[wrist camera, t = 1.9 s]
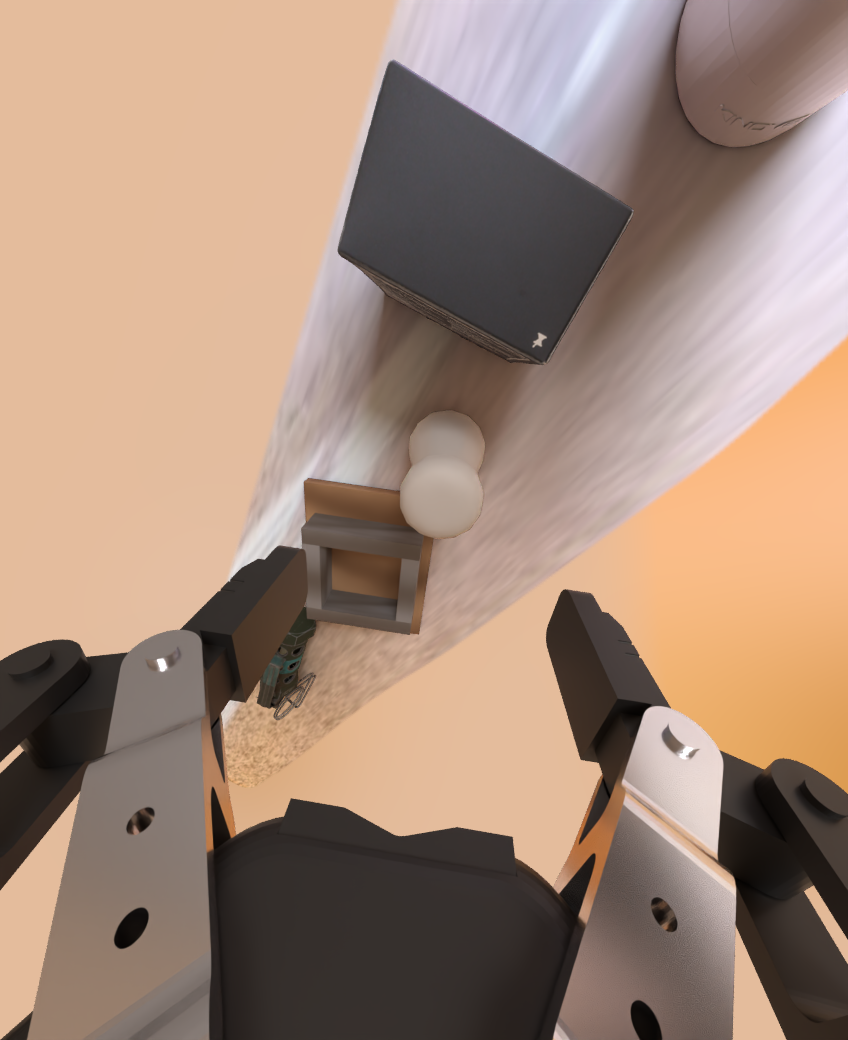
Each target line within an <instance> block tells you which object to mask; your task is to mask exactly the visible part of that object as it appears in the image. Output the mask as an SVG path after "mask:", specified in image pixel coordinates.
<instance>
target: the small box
mask: <svg viewBox="0 0 848 1040" xmlns="http://www.w3.org/2000/svg"><path fill="white" fill-rule="evenodd" d="M633 212H634V211H633V209H632V208H631V207H629V206H628V205H626V204H624V203H622V202H621V201H619V200H618V199H616V198H614V197H613V196H612V195H610V194H608V193H607V192H605V191H603V190H602V189H600V188H598V187H597V186H595V185H594V184H592V183H590V182H589V181H587V180H585V179H584V178H582V177H580V176H579V175H577V174H576V173H574V172H572V171H571V170H569V169H567V168H566V167H564V166H563V165H561V164H559V163H558V162H556V161H555V160H553V159H551V158H550V157H548V156H546V155H545V154H543V153H542V152H540V151H538V150H537V149H535V148H534V147H532V146H530V145H529V144H527V143H525V142H524V141H522V140H521V139H519V138H517V137H516V136H514V135H512V134H511V133H509V132H508V131H506V130H505V129H503V128H501V127H500V126H498V125H497V124H495V123H494V122H492V121H490V120H489V119H487V118H486V117H484V116H482V115H481V114H479V113H478V112H476V111H475V110H473V109H471V108H470V107H468V106H467V105H465V104H463V103H462V102H460V101H459V100H457V99H455V98H454V97H452V96H451V95H449V94H448V93H446V92H445V91H443V90H441V89H440V88H438V87H437V86H435V85H434V84H432V83H431V82H429V81H427V80H426V79H424V78H423V77H421V76H419V75H418V74H416V73H415V72H413V71H412V70H410V69H409V68H407V67H405V66H404V65H402V64H401V63H399V62H397V61H396V60H394V59H393V60H390V62H389V63H388V65H387V69H386V72H385V75H384V78H383V81H382V85H381V88H380V91H379V95H378V98H377V102H376V106H375V110H374V113H373V117H372V121H371V125H370V128H369V132H368V136H367V139H366V143H365V147H364V150H363V153H362V157H361V161H360V165H359V169H358V174H357V177H356V181H355V184H354V188H353V191H352V195H351V199H350V203H349V207H348V211H347V214H346V218H345V222H344V226H343V230H342V233H341V237H340V241H339V246H338V253H339V255H340V256H341V257H343V258H344V259H346V260H348V261H349V262H351V263H352V264H354V265H355V266H356V267H357V268H359V269H360V270H361V271H363V273H364V274H366V275H367V276H368V277H369V278H370V279H371V280H372V281H373V282H374V283H375V284H377V286H379V287H380V288H381V289H382V291H383V292H384V293H385V294H386V295H387V296H389V297H391V298H393V299H395V300H397V301H398V302H400V303H402V304H404V305H406V306H407V307H409V308H411V309H413V310H414V311H417V312H419V313H420V314H422V315H424V316H426V317H427V318H428V319H431V320H433V321H435V322H437V323H439V324H440V325H442V326H444V327H446V328H448V329H450V330H451V331H453V332H455V333H457V334H459V335H460V336H461V337H463V338H465V339H466V340H469V341H471V342H473V343H475V344H476V345H478V346H479V347H481V348H484V349H486V350H488V351H490V352H492V353H494V354H496V355H498V356H500V357H502V358H504V359H505V360H507V361H509V362H510V363H513V362H523V363H529V364H539V365H544V364H547V363H548V362H549V361H550V359H551V357H552V355H553V353H554V351H555V349H556V348H557V346H558V344H559V342H560V341H561V339H562V337H563V336H564V334H565V332H566V331H567V329H568V327H569V325H570V324H571V322H572V320H573V319H574V317H575V315H576V314H577V312H578V310H579V308H580V306H581V304H582V303H583V301H584V299H585V298H586V296H587V294H588V292H589V291H590V289H591V288H592V286H593V284H594V282H595V281H596V279H597V277H598V276H599V274H600V272H601V270H602V269H603V267H604V265H605V264H606V262H607V260H608V258H609V256H610V255H611V253H612V252H613V250H614V248H615V246H616V245H617V243H618V241H619V239H620V237H621V236H622V234H623V233H624V231H625V230H626V228H627V226H628V224H629V222H630V220H631V218H632V216H633Z"/></svg>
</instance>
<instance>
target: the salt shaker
mask: <svg viewBox="0 0 848 1040" xmlns="http://www.w3.org/2000/svg"><path fill="white" fill-rule="evenodd" d="M484 451H485V442H484V439H483V436H482V432H481V429H480V428H479V427H478V426H477V425H476V424H475V423H474V421H473V420H472V419H471V418H470V417H469V416H468V415H465V414H462V413H459V412H456V411H452V410H447V411H439V412H432V413H431V414H430V415H428V416H427V417H426V418H424V419H423V420H421V421H420V422H419V423H418V424H417V426H416V428H415V429H414V431H413V433H412V434H411V436H410V439H409V456H410V461H411V465H412V467H411V468H410V470H409V472H408V473H407V475H406V477H405V478H404V480H403V482H402V483H401V485H400V508H401V511H402V513H403V515H404V517H405V520H406V522H407V523H408V524H409V525H410V526H411V527H413V528H414V529H415V530H416V531H417V532H419V533H420V534H422V535H425V536H428V537H432V538H435V539H444V538H454V537H456V536H458V535H460V534H462V533H464V532H466V531H468V530H470V528H471V527H472V526H473V524H474V523H475V522H476V520H477V519H478V517H479V516H480V513H481V509H482V503H483V497H484V491H483V488H482V485H481V483H480V480H479V477H478V474H477V473H478V471H479V469H480V467H481V465H482V462H483V458H484Z"/></svg>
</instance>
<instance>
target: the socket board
mask: <svg viewBox="0 0 848 1040" xmlns="http://www.w3.org/2000/svg"><path fill="white" fill-rule="evenodd" d="M304 494H305V512H306V524H305V525H304V526H303V527H302V528H301V532H302V548H303V549H304V550H305V552H306V561H307V578H308V594H307V599H306V610H307V619H313V620H319V621H326V622H332V623H338V624H345V625H351V626H357V627H363V628H370V629H376V630H382V631H389V632H395V633H401V634H408V635H410V633H413V634H419V631H420V624H421V617H422V611H423V604H424V597H425V591H426V584H427V577H428V571H429V564H430V557H431V550H432V544H433V538H432V537H428V536H425V535H422V534H420V533H419V532H417V531H416V530H415V529H414V528H413V527H411V526H410V525H409V524H408V523H407V522H406V520H405V517H404V515H403V513H402V511H401V508H400V491H394V490H387V489H380V488H373V487H366V486H359V485H352V484H345V483H338V482H331V481H325V480H318V479H311V478H308V479H307V480H306V481H304Z"/></svg>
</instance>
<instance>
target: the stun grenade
mask: <svg viewBox="0 0 848 1040" xmlns="http://www.w3.org/2000/svg"><path fill="white" fill-rule="evenodd" d="M315 629H316V622H315V620H313V619H307V610H306V607H303V609H302V610H301V612H300V614H299V615H298V617H297V619H296V620H295V622H294V624H293V625H292V627H291V629H290V630H289V632H288V634H287V635H286V637H285V639H284V640H283V642H282V643H281V645H280V647H279V648H278V650H277V652H276V653H275V655H274V657H273V658H272V660H271V662H270V663H269V665H268V667H267V668H266V670H265V672H264V673H263V675H262V676H261V678H260V691H259V695H258V697H257V698H258V700H257V703H258V704H260V705H261V706H263V707H267V708H269V709H270V708H271V707H273V708H275V709H276V708H277V709H276V711H275V713H274V718H275V719H276V720H280V719H282V718H283V717H285V716H286V715H287V714H288V713H289V712H290V711H291V710H292V709H293V708H294V707H295V708H298V707H299V706H300V705H301V704H302V702H303V700H304V699H305V697H306V695H307V693H308V691H309V689H310V687H311V686H312V684H313V682H314V680H315V678H316V675H314V676H313V673H311V674H312V675H311V677H310V678H308V679H307V680H306V681H304V682H303V683H302V684H300V685H299V686H297V685H298V683H300V682H301V681H302V680H304V679H305V678H306V677H308V676H309V675H310V674H308V675H307V676H305V677H304V678H303V679H301V680H300V681H299V682H298V669H299V666H300V663H301V660H302V656H303V653H304V650H305V647H306V643H307V640H308V639H309V638H310V637H312V636H313V635H314V632H315ZM279 652H280V653H279ZM291 664H293V665H294V667H293V668H291V669H289V665H291ZM312 677H314V679H313V681H312V683H311V684H310V686H309V688H308V690H307V692H306V694H305V695H304V697H303V699H302V701H301V703H300V704H299V705H298V706H296V705H297V704H298V703H299V702H300V700H301V698H302V696H303V694H304V692H305V690H306V688H307V686H308V684H309V682H310V680H311V678H312ZM308 680H309V681H308ZM307 681H308V683H307V685H306V687H305V689H304V687H303V686H301V685H303V684H304V683H305V682H307ZM299 688H301V690H300V689H299ZM302 688H303V690H302ZM297 689H299V690H297ZM295 690H297V691H295ZM294 691H295V692H294ZM298 691H300V692H299V694H298V696H297V698H296V699H295V700H294V702H292V701H291V700H290V698H291V697H292V696H293V695H294V694H295V693H296V692H298ZM301 691H302V693H301ZM293 692H294V693H293ZM292 693H293V694H292ZM290 694H292V695H291V696H290V697H289V698H288V696H289V695H290ZM300 694H301V695H300ZM299 695H300V697H299ZM284 696H285V697H286V698H285V699H287V700H286V701H285V699H284V700H283V701H282V699H283V698H284ZM298 697H299V699H298ZM297 699H298V700H297ZM296 700H297V702H296V703H295V701H296ZM281 701H282V702H281ZM284 701H285V702H284ZM287 701H289V702H290V703H291V705H290V706H289V708H288V709H287V710H286V711H284V712H283V713H282V714H281V715H279V716H277V715H278V713H279V711H280V710H281V708H282V707H283V705H284V704H285V703H286V702H287ZM283 702H284V703H283ZM282 703H283V704H282ZM294 703H295V704H294ZM279 704H280V705H279ZM281 704H282V706H281ZM292 705H293V707H292V708H291V709H290V707H291V706H292ZM280 706H281V707H280ZM279 707H280V709H279V710H278V708H279ZM289 709H290V710H289ZM277 710H278V712H277ZM288 710H289V711H288ZM287 711H288V712H287ZM276 712H277V714H276ZM286 712H287V713H286ZM284 713H286V714H285V715H284V716H282V715H283V714H284ZM275 714H276V717H275ZM281 716H282V717H281ZM279 717H281V718H279ZM277 718H278V719H277Z"/></svg>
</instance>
